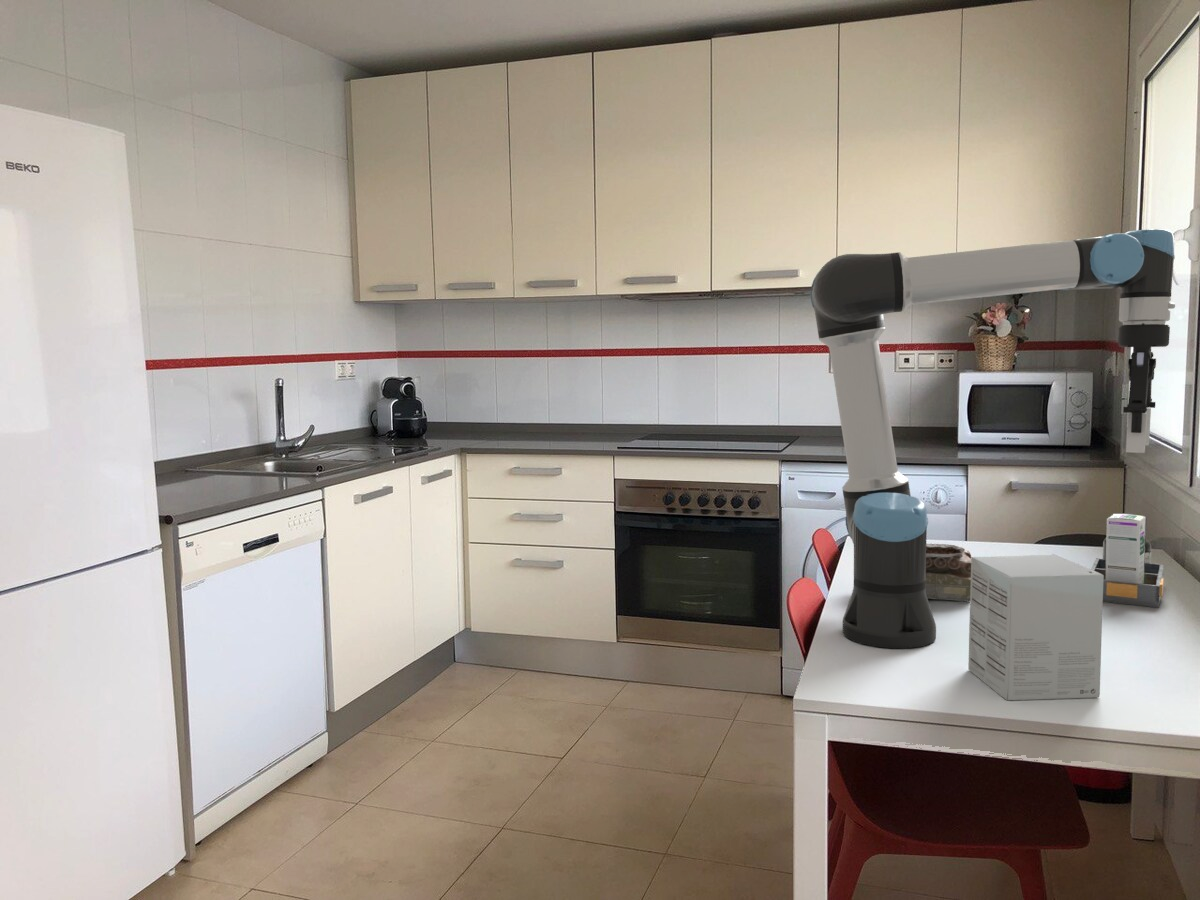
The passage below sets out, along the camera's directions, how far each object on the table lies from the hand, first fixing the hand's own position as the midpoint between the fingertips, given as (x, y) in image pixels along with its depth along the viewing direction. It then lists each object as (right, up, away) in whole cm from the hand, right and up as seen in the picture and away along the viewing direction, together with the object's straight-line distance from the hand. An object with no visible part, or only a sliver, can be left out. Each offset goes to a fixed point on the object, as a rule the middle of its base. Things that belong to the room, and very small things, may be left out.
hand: (1137, 448), depth 162 cm
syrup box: (+8, -27, +19) cm, 34 cm away
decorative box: (-30, -29, +21) cm, 47 cm away
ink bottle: (+19, -26, +38) cm, 50 cm away
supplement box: (-30, -34, -26) cm, 52 cm away
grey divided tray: (+10, -28, +23) cm, 37 cm away
